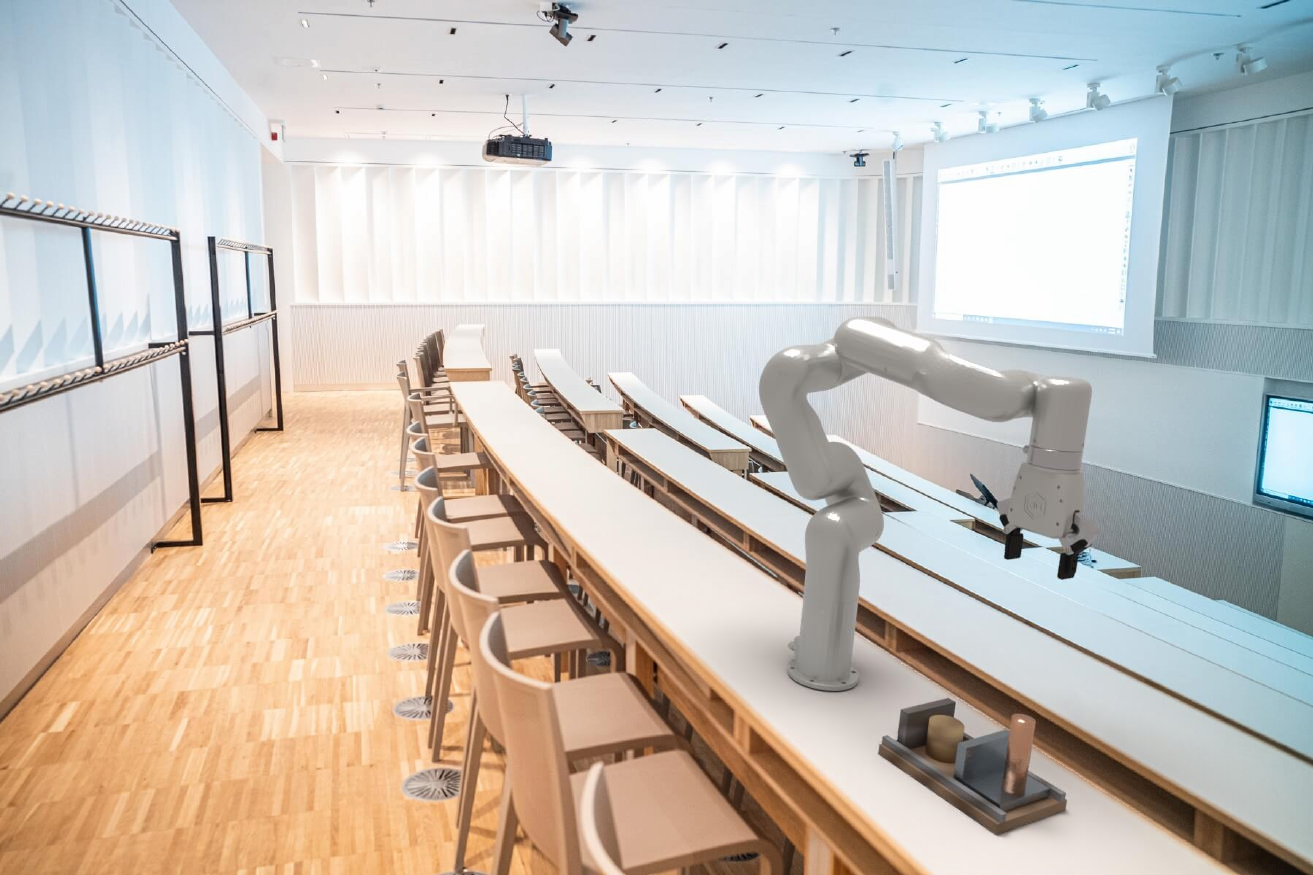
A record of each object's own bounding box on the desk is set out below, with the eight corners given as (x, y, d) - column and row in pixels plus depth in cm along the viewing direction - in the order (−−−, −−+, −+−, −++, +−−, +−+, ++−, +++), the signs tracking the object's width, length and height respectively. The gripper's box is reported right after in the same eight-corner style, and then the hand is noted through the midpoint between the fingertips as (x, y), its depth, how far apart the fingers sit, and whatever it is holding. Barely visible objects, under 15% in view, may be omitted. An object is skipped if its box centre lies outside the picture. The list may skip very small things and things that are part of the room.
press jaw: (952, 782, 128) (963, 706, 126) (1001, 767, 133) (1012, 693, 131) (999, 813, 121) (1010, 732, 119) (1048, 796, 126) (1060, 718, 124)
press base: (878, 753, 138) (883, 707, 136) (944, 735, 145) (950, 691, 143) (996, 834, 119) (1003, 782, 118) (1065, 809, 126) (1073, 759, 125)
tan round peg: (918, 749, 137) (922, 718, 136) (941, 742, 139) (946, 712, 138) (943, 765, 132) (947, 733, 132) (967, 758, 135) (971, 727, 134)
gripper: (990, 448, 143) (976, 553, 146) (1089, 473, 128) (1071, 589, 131) (1022, 447, 147) (1008, 549, 150) (1122, 470, 132) (1104, 583, 135)
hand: (1038, 568), depth 140 cm, fingers open, 9 cm apart
